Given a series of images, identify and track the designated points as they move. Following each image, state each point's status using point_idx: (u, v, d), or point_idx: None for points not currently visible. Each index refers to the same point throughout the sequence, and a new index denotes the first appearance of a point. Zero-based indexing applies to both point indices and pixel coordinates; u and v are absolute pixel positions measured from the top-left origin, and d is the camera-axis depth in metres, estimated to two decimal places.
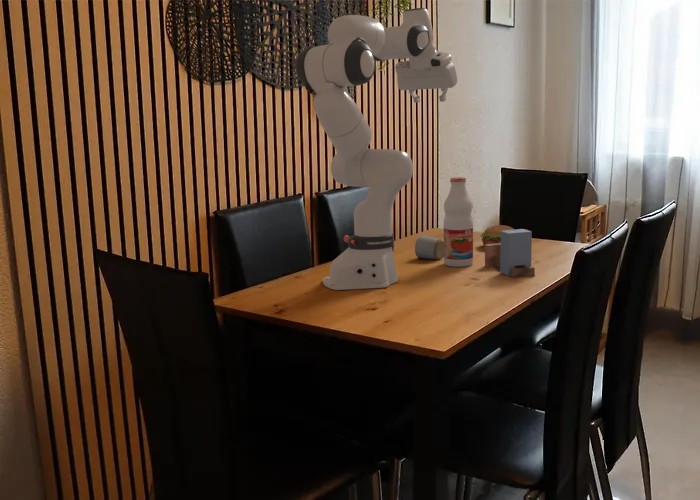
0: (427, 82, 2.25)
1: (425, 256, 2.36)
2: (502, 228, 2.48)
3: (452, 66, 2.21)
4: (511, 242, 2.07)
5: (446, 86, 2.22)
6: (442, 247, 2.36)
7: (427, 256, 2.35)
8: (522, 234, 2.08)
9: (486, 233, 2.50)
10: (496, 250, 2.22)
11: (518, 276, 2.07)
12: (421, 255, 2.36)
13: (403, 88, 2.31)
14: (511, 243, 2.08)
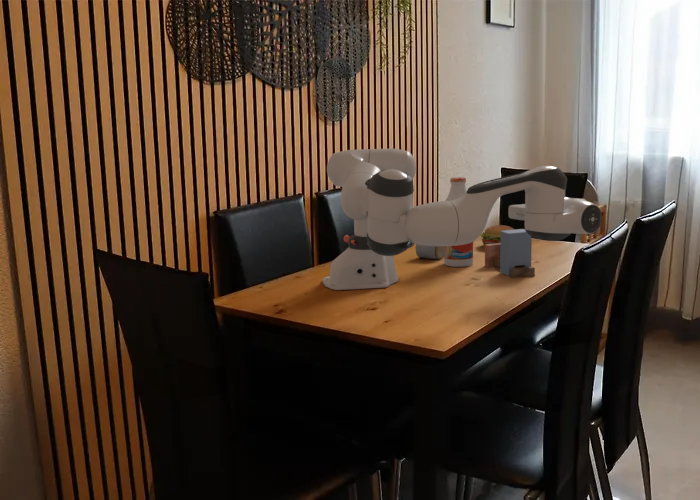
0: None
1: (426, 256, 2.36)
2: (502, 228, 2.48)
3: None
4: (511, 242, 2.07)
5: None
6: (443, 247, 2.36)
7: (428, 256, 2.35)
8: (522, 234, 2.08)
9: (486, 233, 2.50)
10: (496, 250, 2.22)
11: (518, 276, 2.07)
12: (422, 254, 2.36)
13: None
14: (511, 243, 2.08)
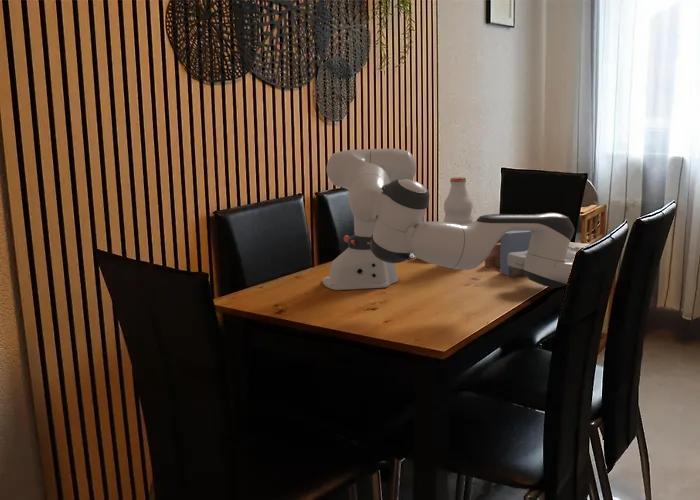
0: None
1: None
2: None
3: None
4: (511, 242, 2.07)
5: None
6: None
7: None
8: (522, 234, 2.08)
9: None
10: (496, 250, 2.22)
11: (518, 276, 2.07)
12: None
13: None
14: (511, 243, 2.08)
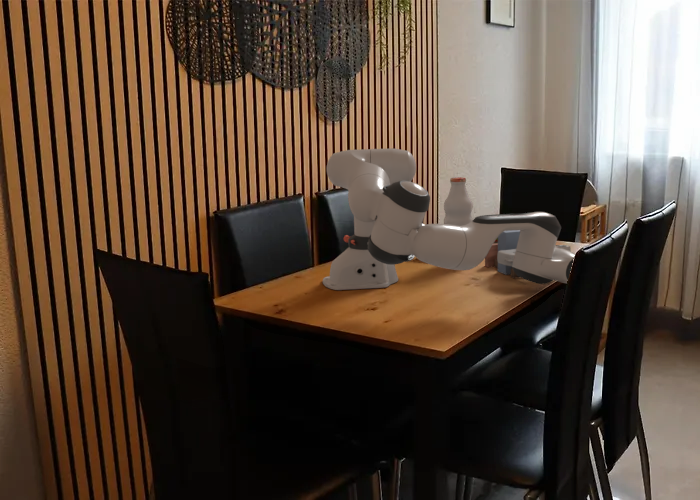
0: None
1: None
2: None
3: None
4: (508, 242, 2.09)
5: None
6: None
7: None
8: (519, 233, 2.10)
9: None
10: (496, 250, 2.22)
11: None
12: None
13: None
14: (508, 242, 2.09)
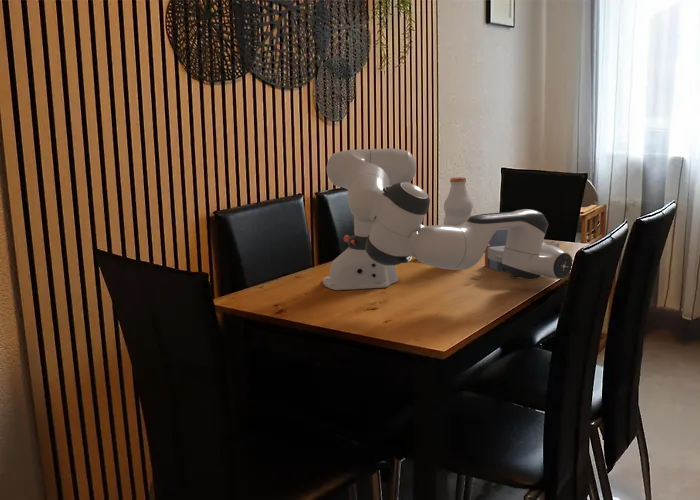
0: None
1: None
2: None
3: None
4: (499, 239, 2.14)
5: None
6: None
7: None
8: None
9: None
10: None
11: None
12: None
13: None
14: (500, 239, 2.14)
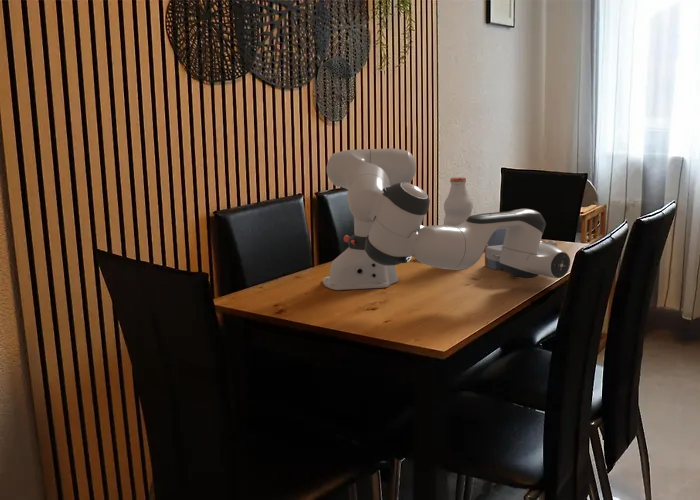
0: None
1: None
2: None
3: None
4: (497, 238, 2.15)
5: None
6: None
7: None
8: None
9: None
10: None
11: None
12: None
13: None
14: (498, 239, 2.15)
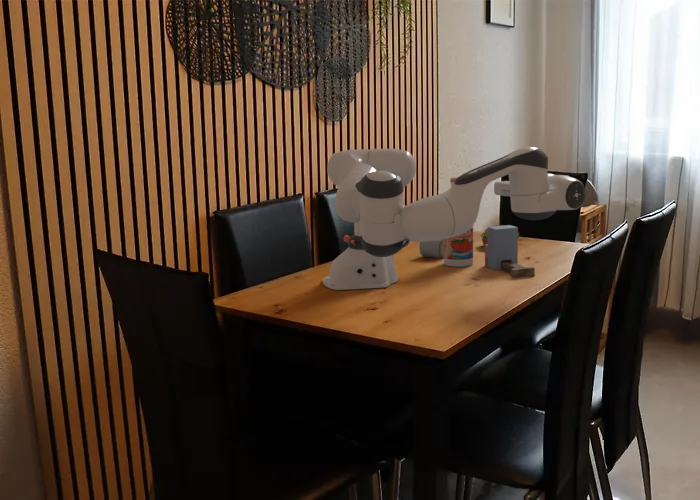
0: None
1: (430, 255, 2.38)
2: None
3: None
4: (497, 238, 2.15)
5: None
6: None
7: (432, 255, 2.37)
8: (508, 230, 2.16)
9: (486, 233, 2.50)
10: None
11: (518, 276, 2.07)
12: (426, 253, 2.38)
13: None
14: (498, 239, 2.15)
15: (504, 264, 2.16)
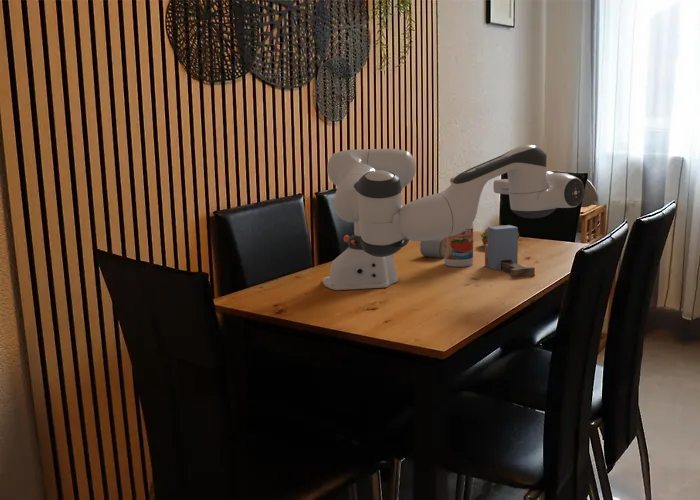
0: None
1: (430, 254, 2.38)
2: None
3: None
4: (497, 238, 2.15)
5: None
6: None
7: (432, 254, 2.37)
8: (508, 230, 2.16)
9: (486, 233, 2.50)
10: None
11: (518, 276, 2.07)
12: (426, 253, 2.38)
13: None
14: (498, 239, 2.15)
15: (504, 264, 2.16)
